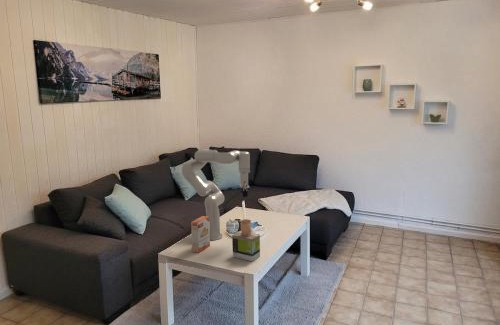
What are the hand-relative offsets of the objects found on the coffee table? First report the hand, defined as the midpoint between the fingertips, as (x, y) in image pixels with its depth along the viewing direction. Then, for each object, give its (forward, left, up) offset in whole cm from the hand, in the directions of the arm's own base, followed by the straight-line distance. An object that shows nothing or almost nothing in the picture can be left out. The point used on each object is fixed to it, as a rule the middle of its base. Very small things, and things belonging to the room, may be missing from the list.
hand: (244, 194), depth 263 cm
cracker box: (-30, -8, -34) cm, 46 cm away
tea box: (-1, -23, -35) cm, 42 cm away
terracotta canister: (-1, -23, -20) cm, 30 cm away
